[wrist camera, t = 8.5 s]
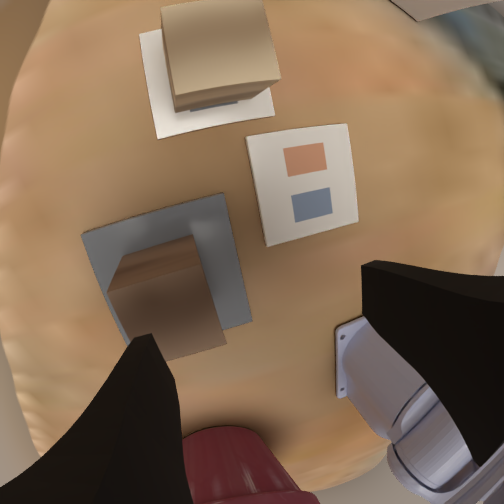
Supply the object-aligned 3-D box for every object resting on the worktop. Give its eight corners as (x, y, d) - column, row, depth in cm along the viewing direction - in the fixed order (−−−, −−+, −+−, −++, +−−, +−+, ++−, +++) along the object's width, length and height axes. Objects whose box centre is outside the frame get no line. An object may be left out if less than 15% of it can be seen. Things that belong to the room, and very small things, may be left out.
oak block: (251, 98, 15) (281, 79, 11) (175, 113, 15) (175, 94, 10) (237, 33, 14) (261, -4, 9) (162, 45, 13) (160, 7, 8)
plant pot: (298, 448, 29) (342, 530, 17) (196, 486, 27) (217, 568, 15) (254, 386, 23) (312, 515, 11) (123, 436, 22) (126, 552, 10)
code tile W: (355, 220, 20) (358, 221, 20) (265, 245, 19) (267, 247, 19) (343, 123, 18) (347, 123, 17) (244, 137, 16) (246, 136, 16)
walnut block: (212, 298, 19) (226, 343, 14) (148, 318, 18) (144, 366, 13) (192, 233, 17) (200, 263, 12) (122, 256, 16) (106, 292, 12)
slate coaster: (250, 317, 20) (252, 321, 20) (132, 349, 19) (131, 353, 18) (222, 192, 17) (223, 193, 17) (83, 232, 16) (80, 234, 15)
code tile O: (272, 116, 16) (275, 115, 16) (158, 139, 15) (157, 139, 15) (251, 19, 14) (253, 17, 14) (139, 36, 13) (139, 34, 12)
